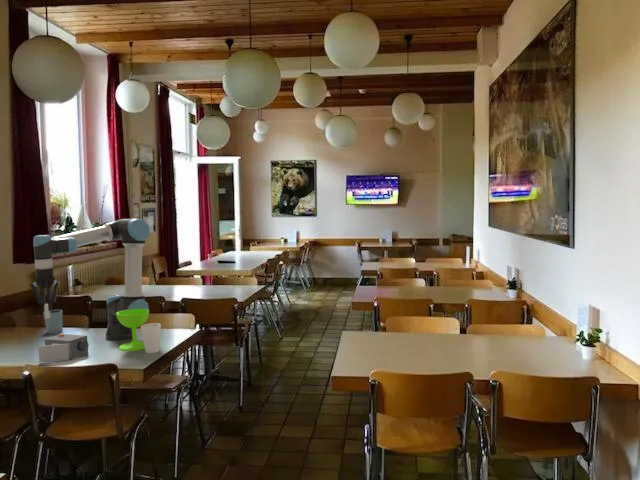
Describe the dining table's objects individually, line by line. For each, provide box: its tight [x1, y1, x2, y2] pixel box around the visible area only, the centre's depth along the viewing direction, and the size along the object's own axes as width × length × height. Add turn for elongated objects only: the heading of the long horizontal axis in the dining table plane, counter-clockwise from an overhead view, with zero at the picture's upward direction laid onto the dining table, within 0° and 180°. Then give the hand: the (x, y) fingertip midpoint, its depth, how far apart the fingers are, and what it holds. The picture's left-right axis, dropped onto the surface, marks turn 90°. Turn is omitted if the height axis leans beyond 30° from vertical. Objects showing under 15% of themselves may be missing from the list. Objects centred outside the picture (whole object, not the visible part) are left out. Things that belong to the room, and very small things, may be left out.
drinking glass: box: [42, 309, 64, 334], centre depth 340 cm, size 10×10×12 cm
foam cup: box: [140, 322, 162, 354], centre depth 284 cm, size 10×9×13 cm
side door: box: [37, 343, 71, 363], centre depth 273 cm, size 14×1×8 cm, turn 102°
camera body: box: [43, 333, 89, 361], centre depth 283 cm, size 18×11×10 cm, turn 67°
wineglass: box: [116, 309, 150, 352], centre depth 295 cm, size 16×16×18 cm
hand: (47, 317), depth 275 cm, fingers closed
